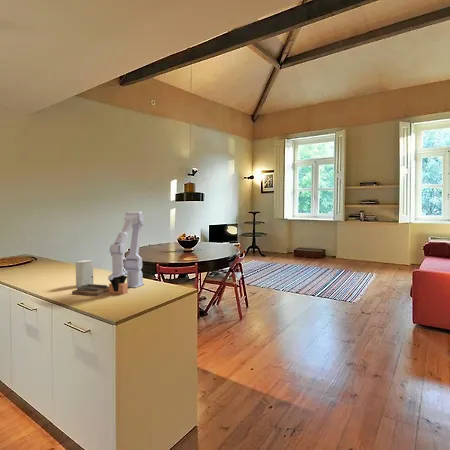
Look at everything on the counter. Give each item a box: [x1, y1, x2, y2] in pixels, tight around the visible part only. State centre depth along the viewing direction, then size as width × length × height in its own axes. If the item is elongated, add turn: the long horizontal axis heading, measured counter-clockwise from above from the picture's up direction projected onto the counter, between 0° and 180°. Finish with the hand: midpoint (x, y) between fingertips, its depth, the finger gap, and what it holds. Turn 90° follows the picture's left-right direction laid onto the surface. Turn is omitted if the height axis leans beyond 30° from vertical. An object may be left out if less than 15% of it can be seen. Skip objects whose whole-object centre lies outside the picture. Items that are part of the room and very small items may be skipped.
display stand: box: [71, 283, 109, 297], centre depth 184 cm, size 14×16×3 cm
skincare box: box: [75, 259, 94, 287], centre depth 198 cm, size 8×6×15 cm
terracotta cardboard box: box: [108, 282, 129, 295], centre depth 181 cm, size 4×9×5 cm, turn 72°
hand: (118, 290), depth 181 cm, fingers closed on terracotta cardboard box, 4 cm apart
